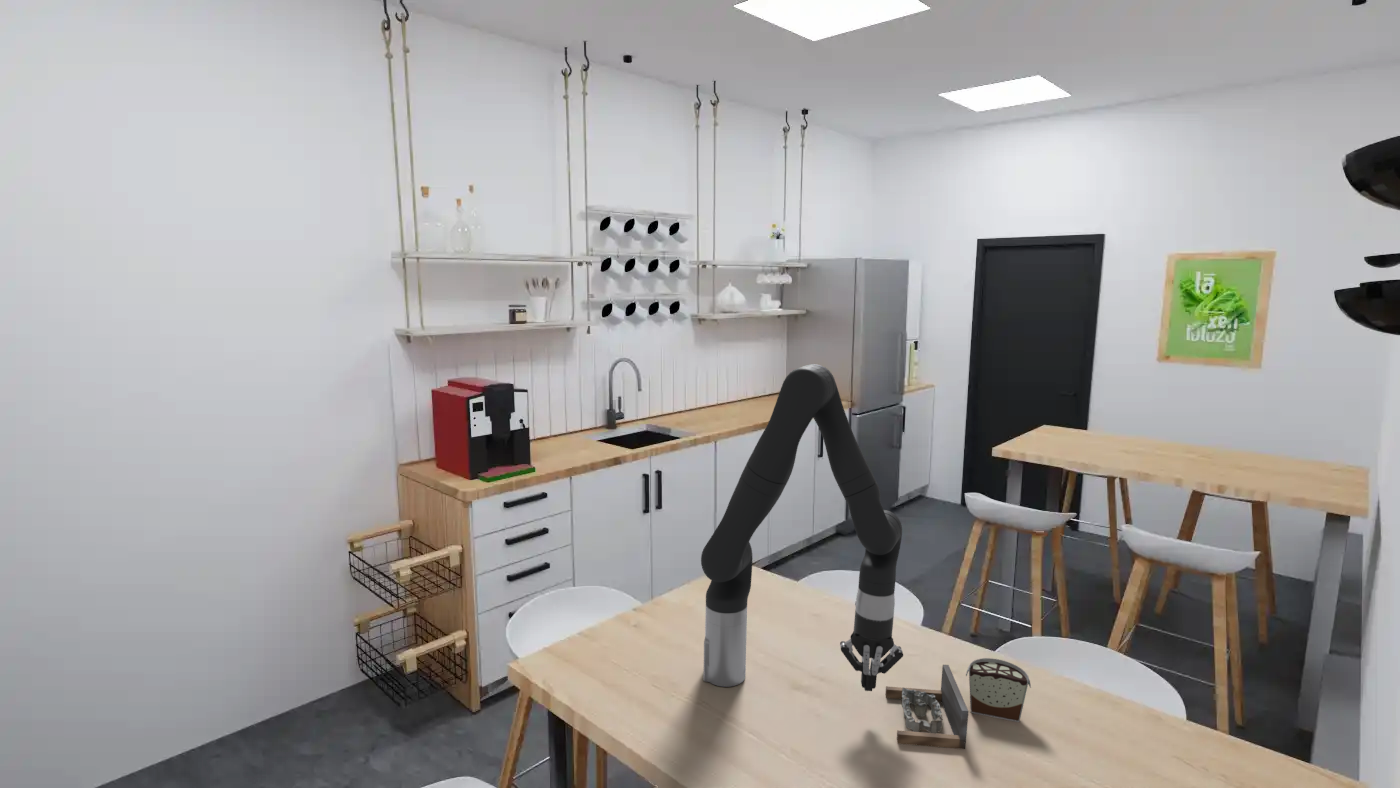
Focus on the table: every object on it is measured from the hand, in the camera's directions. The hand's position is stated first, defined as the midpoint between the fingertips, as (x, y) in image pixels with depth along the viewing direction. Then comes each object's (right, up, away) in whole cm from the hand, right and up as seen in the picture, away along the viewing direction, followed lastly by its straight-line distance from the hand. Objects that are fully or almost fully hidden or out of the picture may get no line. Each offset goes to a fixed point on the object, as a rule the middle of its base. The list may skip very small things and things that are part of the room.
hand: (868, 688), depth 145 cm
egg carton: (+11, -7, +1) cm, 13 cm away
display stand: (+11, -6, 0) cm, 12 cm away
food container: (+27, -6, +4) cm, 28 cm away
